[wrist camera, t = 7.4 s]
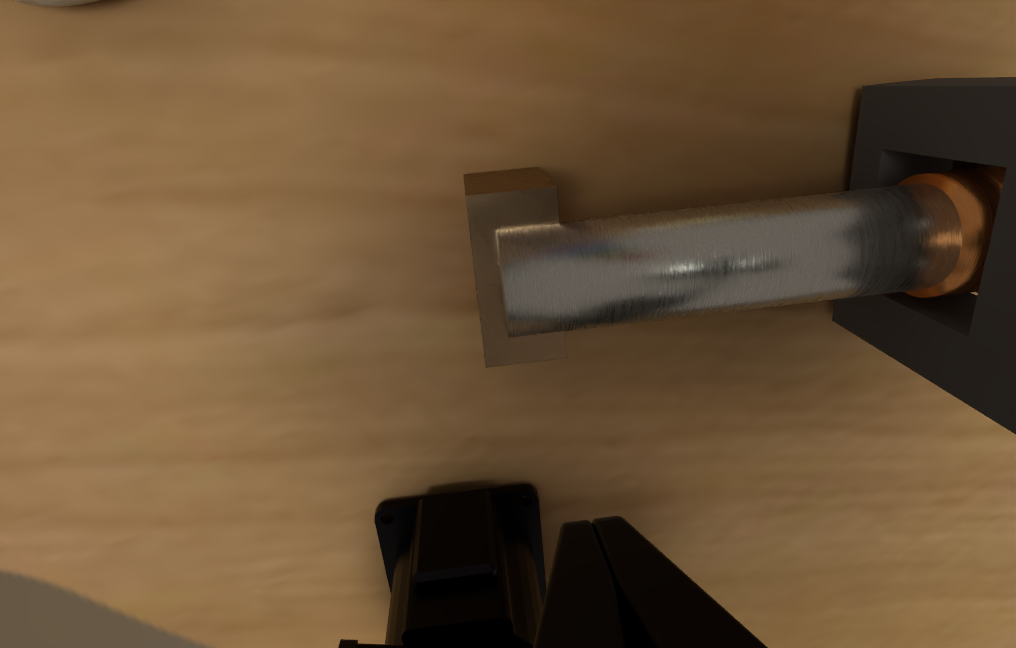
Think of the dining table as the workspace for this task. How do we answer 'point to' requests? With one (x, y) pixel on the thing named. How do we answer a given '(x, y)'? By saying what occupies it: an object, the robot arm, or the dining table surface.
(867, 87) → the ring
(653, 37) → the dining table surface
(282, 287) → the dining table surface
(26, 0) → the stacking toy
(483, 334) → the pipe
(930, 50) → the dining table surface
